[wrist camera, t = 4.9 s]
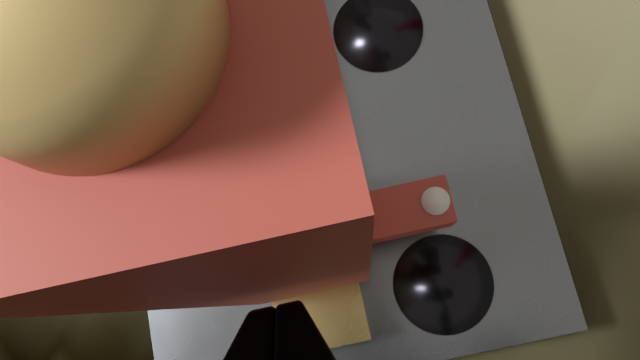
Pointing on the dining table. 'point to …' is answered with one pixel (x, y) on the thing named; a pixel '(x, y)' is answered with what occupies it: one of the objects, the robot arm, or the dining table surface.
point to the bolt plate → (416, 164)
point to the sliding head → (183, 158)
